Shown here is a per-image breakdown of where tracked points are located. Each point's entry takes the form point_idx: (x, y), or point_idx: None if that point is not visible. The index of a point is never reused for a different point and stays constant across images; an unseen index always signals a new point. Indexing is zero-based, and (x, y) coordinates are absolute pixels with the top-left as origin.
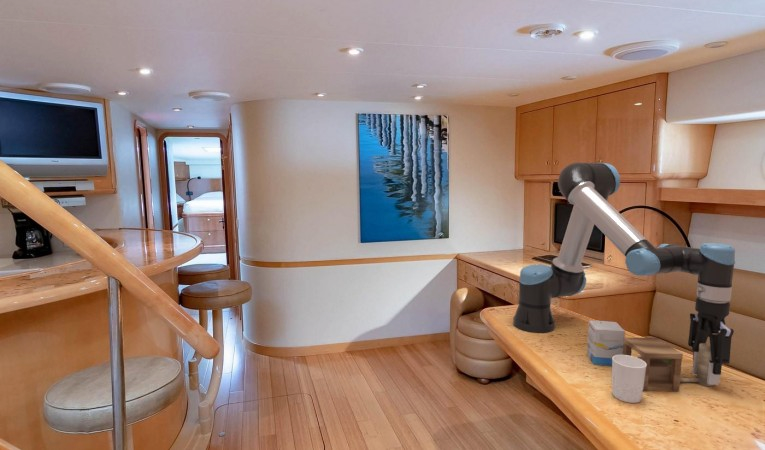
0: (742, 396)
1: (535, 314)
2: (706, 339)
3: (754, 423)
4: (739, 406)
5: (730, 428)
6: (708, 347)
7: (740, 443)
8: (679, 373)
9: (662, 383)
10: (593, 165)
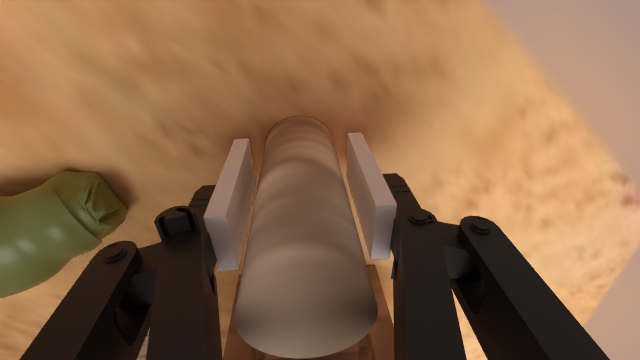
0: (430, 54)
1: None
2: (204, 338)
3: (597, 159)
4: (498, 133)
5: (581, 238)
6: (343, 330)
7: (634, 251)
8: (393, 330)
9: None
10: None
